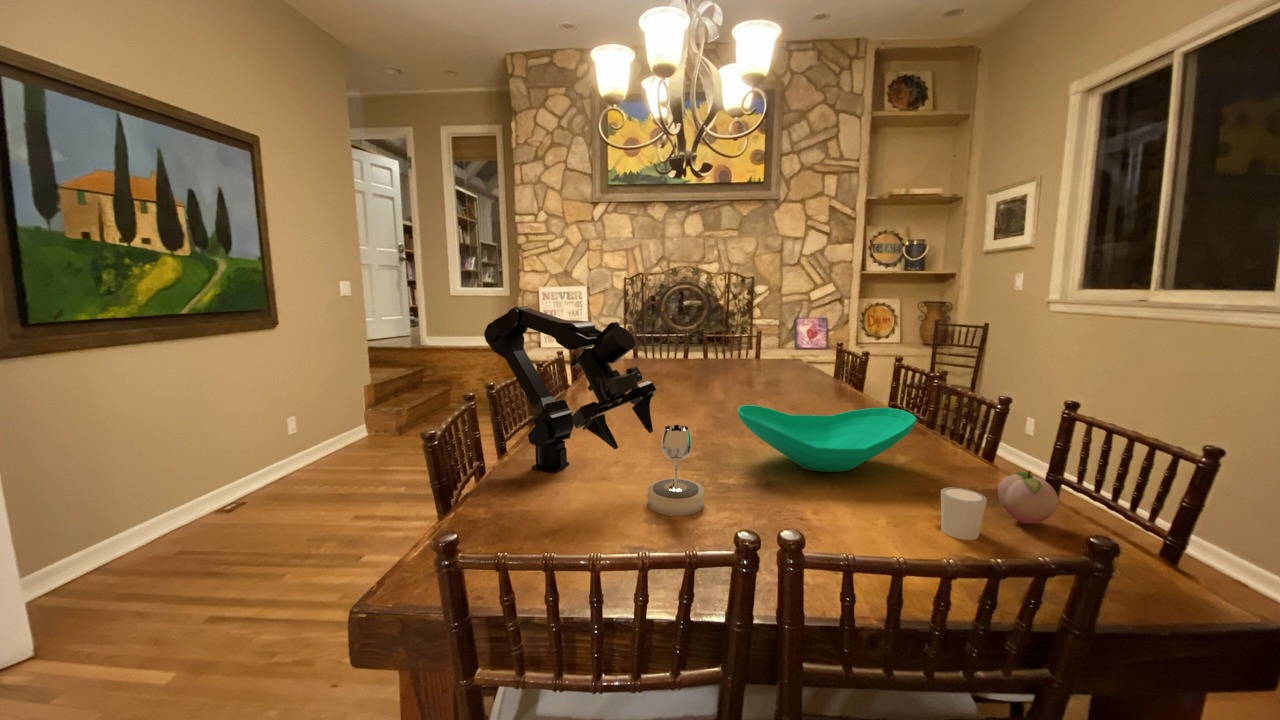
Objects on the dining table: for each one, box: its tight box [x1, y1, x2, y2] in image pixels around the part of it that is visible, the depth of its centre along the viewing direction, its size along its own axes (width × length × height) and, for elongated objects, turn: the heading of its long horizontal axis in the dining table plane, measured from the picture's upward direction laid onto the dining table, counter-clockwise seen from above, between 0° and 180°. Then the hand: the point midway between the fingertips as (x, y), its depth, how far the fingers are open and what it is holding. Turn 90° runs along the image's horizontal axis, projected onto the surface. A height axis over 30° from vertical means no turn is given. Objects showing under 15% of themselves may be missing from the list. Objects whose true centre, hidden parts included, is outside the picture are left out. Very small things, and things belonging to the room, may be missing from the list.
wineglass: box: [661, 424, 692, 492], centre depth 102 cm, size 6×6×12 cm
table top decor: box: [737, 404, 918, 473], centre depth 123 cm, size 40×28×13 cm
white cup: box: [940, 486, 987, 541], centre depth 92 cm, size 7×7×7 cm
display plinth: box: [647, 478, 705, 517], centre depth 103 cm, size 11×11×3 cm
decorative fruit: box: [997, 470, 1059, 525], centre depth 95 cm, size 9×8×10 cm
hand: (634, 440), depth 108 cm, fingers open, 9 cm apart
